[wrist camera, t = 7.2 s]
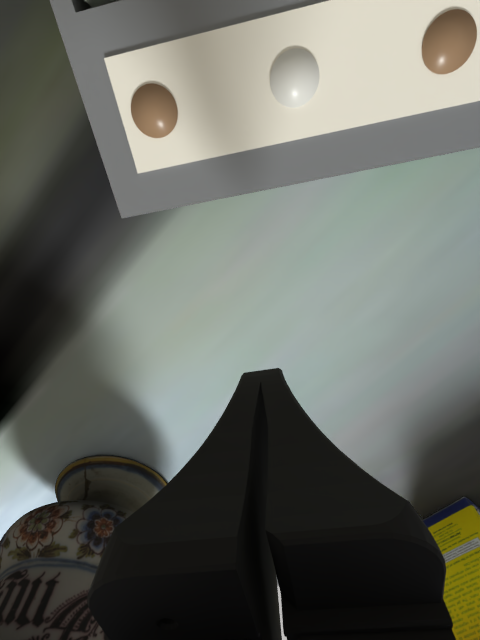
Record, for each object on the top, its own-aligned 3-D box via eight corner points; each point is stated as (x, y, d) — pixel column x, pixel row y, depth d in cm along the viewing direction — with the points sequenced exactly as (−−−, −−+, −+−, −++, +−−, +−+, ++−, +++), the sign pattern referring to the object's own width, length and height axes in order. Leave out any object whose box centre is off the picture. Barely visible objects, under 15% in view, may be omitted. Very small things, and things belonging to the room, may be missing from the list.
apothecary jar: (31, 513, 30) (-222, 922, 14) (64, 422, 26) (-264, 886, 9) (157, 554, 32) (62, 953, 16) (210, 477, 28) (149, 936, 11)
